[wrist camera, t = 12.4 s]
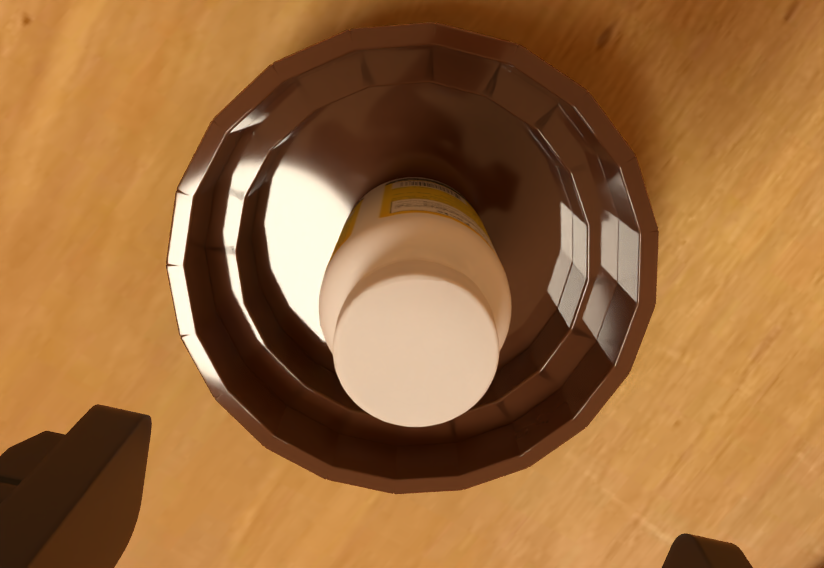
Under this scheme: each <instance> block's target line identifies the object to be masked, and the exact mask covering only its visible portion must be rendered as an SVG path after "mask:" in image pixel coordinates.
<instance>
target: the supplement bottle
mask: <svg viewBox="0 0 824 568" xmlns="http://www.w3.org/2000/svg"><path fill="white" fill-rule="evenodd" d="M511 308H512V306H511V294H510V289H509V284H508V281H507V277H506V274H505V271H504V268H503V266H502V264H501V262H500V260H499V258H498V256H497V253H496V251H495V249H494V247H493V245H492V242H491V240H490V238H489V236H488V234H487V232H486V229H485V227H484V225H483V223H482V221H481V219H480V217H479V216H478V214H477V212H476V211H475V210H474V208H473V207H472V205H471V204H470V203H469V202H468V201H467V200H466V199H465V198H464V197H463V196H462V195H461V194H460V193H459V192H457V191H456V190H454V189H453V188H451V187H450V186H448V185H446V184H443V183H441V182H439V181H436V180H432V179H427V178H420V177H406V178H400V179H395V180H391V181H389V182H386V183H384V184H381V185H379V186H377V187H376V188H374V189H373V190H371V191H370V192H368V193H367V194H366V195H365V196H364V197H363V198H362V199H361V200H360V201H359V202H358V203H357V204H356V205H355V207H354V208H353V209H352V211H351V213H350V214H349V216H348V218H347V220H346V222H345V224H344V226H343V229H342V231H341V234H340V236H339V239H338V241H337V244H336V246H335V248H334V251H333V253H332V256H331V258H330V261H329V263H328V265H327V268H326V271H325V274H324V277H323V281H322V285H321V289H320V295H319V319H320V325H321V329H322V332H323V335H324V338H325V341H326V343H327V345H328V347H329V349H330V351H331V352H332V354H333V360H334V366H335V370H336V374H337V376H338V378H339V380H340V383H341V385H342V386H343V388H344V390H345V391H346V393H347V394H348V395H349V396H350V398H351V399H352V400H353V401H354V402H355V403H356V404H357V405H358V406H359V407H360V408H362V409H363V410H364V411H366V412H367V413H369V414H370V415H372V416H374V417H376V418H378V419H380V420H382V421H384V422H388V423H391V424H395V425H400V426H406V427H424V426H432V425H436V424H440V423H444V422H447V421H449V420H452V419H454V418H456V417H458V416H459V415H461V414H463V413H465V412H466V411H468V410H469V409H470V408H471V407H473V406H474V405H475V404H476V403H477V402H478V401H479V400H480V399H481V398H482V396H483V395H484V394H485V392H486V391H487V390H488V388H489V386H490V384H491V382H492V380H493V378H494V375H495V373H496V370H497V366H498V361H499V352H500V350H501V348H502V346H503V344H504V341H505V339H506V336H507V333H508V330H509V325H510V319H511Z"/></svg>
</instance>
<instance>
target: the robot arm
mask: <svg viewBox="0 0 824 568" xmlns="http://www.w3.org/2000/svg"><path fill="white" fill-rule="evenodd" d="M151 424H152V423H151V417H150V416H149V415H145V414H140V413H136V412H131V411H126V410H122V409H117V408H113V407H108V406H103V405H99V404H97V405H95V406H93V407H92V408H91V409H90V410H89V411H88V412H87V413H86V414H85V415H84V416H83V417H82V418H81V419H80V420H79V421H78V422H77V423H76V424H75V425H74V427H73V428H72V429H71V430H70V431H69V432H68V433H67V434H66V435H64V434H59V433H55V432H50V431H44V432H42V433H40V434H38V435H36V436H34V437H31V438H29V439H27V440H25V441H23V442H21V443H19V444H16V445H14V446H12V447H10V448H8V449H7V450H6V451H5V452H4V453H3V454H2V455H1V456H0V568H114V567H115V565H116V564H117V562H118V560H119V559H120V557H121V555H122V554H123V552H124V550H125V548H126V547H127V545H128V543H129V540H130V538H131V536H132V533H133V531H134V528H135V525H136V522H137V518H138V515H139V511H140V506H141V500H142V493H143V486H144V478H145V471H146V464H147V457H148V450H149V443H150V435H151ZM662 568H753V567H752V566H751V564H750V563H749V561H748V560H747V558H746V557H745V555H744V554H743V552H742V551H741V550H740V548H739V547H737V546H736V545H734V544H732V543H728V542H723V541H718V540H714V539H709V538H705V537H700V536H695V535H691V534H681V535H679V536H678V537H677V538H676V539H675V541H674V542H673V544H672V546H671V548H670V551H669V553H668V555H667V557H666V560H665V562H664V564H663V566H662Z"/></svg>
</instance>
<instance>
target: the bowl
mask: <svg viewBox="0 0 824 568" xmlns="http://www.w3.org/2000/svg"><path fill="white" fill-rule="evenodd" d="M406 177H420V178H427V179H432V180H436V181H439V182H441V183H443V184H446V185H448V186H450V187H451V188H453V189H454V190H456V191H457V192H459V193H460V194H461V195H462V196H463V197H464V198H465V199H466V200H467V201H468V202H469V203H470V204H471V205H472V207H473V208H474V210H475V211H476V212H477V214H478V216H479V217H480V219H481V221H482V223H483V225H484V227H485V229H486V232H487V234H488V236H489V238H490V240H491V242H492V245H493V247H494V249H495V251H496V253H497V256H498V258H499V260H500V262H501V264H502V266H503V268H504V271H505V274H506V277H507V281H508V284H509V289H510V294H511V306H512V308H511V319H510V325H509V330H508V333H507V336H506V339H505V341H504V344H503V346H502V348H501V350H500V352H499V361H498V366H497V370H496V373H495V375H494V378H493V380H492V382H491V384H490V386H489V388H488V390H487V391H486V392H485V394H484V395H483V396H482V398H481V399H480V400H479V401H478V402H477V403H476V404H475V405H474V406H473V407H471V408H470V409H469V410H468V411H466V412H465V413H463V414H461V415H459V416H458V417H456V418H454V419H452V420H449V421H447V422H444V423H440V424H436V425H432V426H424V427H406V426H400V425H395V424H391V423H388V422H384V421H382V420H380V419H378V418H376V417H374V416H372V415H370V414H369V413H367V412H366V411H364V410H363V409H362V408H360V407H359V406H358V405H357V404H356V403H355V402H354V401H353V400H352V399H351V398H350V396H349V395H348V394H347V393H346V391H345V390H344V388H343V386H342V385H341V383H340V380H339V378H338V376H337V374H336V370H335V366H334V360H333V354H332V352H331V351H330V349H329V347H328V345H327V343H326V341H325V338H324V335H323V332H322V329H321V325H320V319H319V295H320V289H321V285H322V281H323V277H324V274H325V271H326V268H327V265H328V263H329V261H330V258H331V256H332V253H333V251H334V248H335V246H336V244H337V241H338V239H339V236H340V234H341V231H342V229H343V226H344V224H345V222H346V220H347V218H348V216H349V214H350V213H351V211H352V209H353V208H354V207H355V205H356V204H357V203H358V202H359V201H360V200H361V199H362V198H363V197H364V196H365V195H366V194H367V193H368V192H370V191H371V190H373V189H374V188H376V187H377V186H379V185H381V184H384V183H386V182H389V181H391V180H395V179H400V178H406ZM658 236H659V231H658V227H657V223H656V220H655V217H654V213H653V210H652V207H651V203H650V200H649V197H648V194H647V190H646V187H645V184H644V180H643V177H642V174H641V171H640V167H639V164H638V161H637V158H636V157H635V154H634V152H633V151H632V149H631V148H630V147H629V145H628V144H627V143H626V141H625V140H624V139H623V137H622V136H621V135H620V133H619V132H618V130H617V129H616V128H615V126H614V125H613V124H612V122H611V121H610V120H609V118H608V117H607V116H606V114H605V113H604V111H603V110H602V109H601V107H600V106H599V105H598V103H597V102H596V101H595V99H594V98H593V97H592V95H591V94H590V92H587V90H586V89H585V88H583V87H582V86H580V85H579V84H577V83H576V82H574V81H573V80H572V79H570V78H569V77H567V76H566V75H564V74H563V73H561V72H560V71H558V70H557V69H555V68H554V67H552V66H551V65H549V64H548V63H546V62H545V61H543V60H542V59H541V58H539V57H538V56H536V55H535V54H533V53H532V52H530V51H529V50H527V49H526V48H524V47H523V46H521V45H518V44H517V43H514V42H510V41H506V40H502V39H499V38H495V37H491V36H487V35H483V34H479V33H476V32H472V31H468V30H464V29H460V28H457V27H453V26H449V25H445V24H441V23H436V24H435V23H434V22H428V23H416V24H403V25H390V26H378V27H365V28H353V29H350V30H345V31H343V32H341V33H339V34H336V35H334V36H332V37H330V38H327V39H325V40H323V41H321V42H318V43H316V44H314V45H312V46H309V47H307V48H305V49H302V50H300V51H298V52H296V53H293V54H291V55H289V56H287V57H284V58H282V59H280V60H278V61H275V62H274V63H273V64H271V65H269V66H268V67H267V68H266V69H265V70H264V71H263V72H262V73H261V74H260V75H259V76H257V77H256V78H255V79H254V80H253V81H252V82H251V83H250V84H249V85H248V86H247V87H246V88H245V89H244V90H243V91H242V92H241V93H239V94H238V95H237V96H236V97H235V98H234V99H233V100H232V101H231V102H230V103H229V104H228V105H227V106H226V107H225V108H224V109H223V110H221V111H220V112H219V113H218V114H217V115H216V116H215V117H214V118H213V120H212V121H211V122H210V124H209V126H208V128H207V130H206V132H205V134H204V136H203V138H202V140H201V142H200V144H199V146H198V148H197V150H196V152H195V154H194V155H193V157H192V159H191V161H190V163H189V165H188V167H187V169H186V171H185V173H184V175H183V177H182V179H181V181H180V183H179V185H178V187H177V191H176V194H175V201H174V208H173V216H172V223H171V230H170V238H169V245H168V252H167V260H166V264H167V265H166V268H167V273H168V279H169V284H170V289H171V294H172V299H173V304H174V309H175V315H176V320H177V325H178V330H179V335H180V336H181V339H182V341H183V343H184V345H185V346H186V348H187V350H188V352H189V354H190V355H191V357H192V359H193V361H194V363H195V364H196V366H197V368H198V370H199V372H200V374H201V375H202V377H203V379H204V381H205V383H206V384H207V386H208V388H209V390H210V392H211V393H212V395H213V397H214V398H215V400H216V401H217V402H218V403H219V404H220V405H221V406H222V407H223V408H225V409H226V410H227V411H228V412H229V413H230V414H231V415H232V416H233V417H234V418H235V419H236V420H237V421H238V422H239V423H240V424H241V425H242V426H243V427H244V428H245V429H246V430H247V431H248V432H249V433H250V434H251V435H253V436H254V437H255V438H256V439H257V440H258V441H259V442H260V443H261V444H262V445H263V446H264V447H265V448H267V449H269V450H270V451H272V452H274V453H276V454H278V455H280V456H282V457H284V458H286V459H288V460H290V461H291V462H293V463H295V464H297V465H299V466H301V467H303V468H305V469H307V470H309V471H310V472H312V473H314V474H316V475H318V476H320V477H322V478H324V479H328V480H331V481H336V482H340V483H345V484H350V485H354V486H359V487H364V488H368V489H373V490H378V491H382V492H387V493H394V494H406V493H423V492H440V491H457V490H463V489H467V488H470V487H473V486H476V485H479V484H482V483H485V482H488V481H491V480H494V479H497V478H500V477H502V476H505V475H508V474H511V473H514V472H517V471H520V470H523V469H526V468H528V467H530V466H532V465H533V464H535V463H536V462H537V461H539V460H540V459H542V458H543V457H545V456H546V455H548V454H549V453H550V452H552V451H553V450H555V449H556V448H558V447H559V446H560V445H562V444H563V443H565V442H566V441H568V440H569V439H570V438H572V437H573V436H575V435H576V434H578V433H579V432H581V431H582V430H583V429H585V427H587V426H588V425H589V423H590V422H591V421H592V420H593V418H594V417H595V416H596V415H597V413H598V412H599V411H600V410H601V408H602V407H603V406H604V405H605V403H606V402H607V401H608V399H609V398H610V397H611V396H612V394H613V393H614V392H615V391H616V389H617V388H618V387H619V386H620V384H621V383H622V382H623V381H624V379H625V378H626V377H627V376H628V374H629V372H630V371H631V368H632V366H633V363H634V360H635V358H636V355H637V353H638V350H639V347H640V345H641V342H642V339H643V337H644V334H645V331H646V329H647V326H648V324H649V321H650V318H651V316H652V313H653V310H654V308H655V304H656V286H657V261H658Z"/></svg>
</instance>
